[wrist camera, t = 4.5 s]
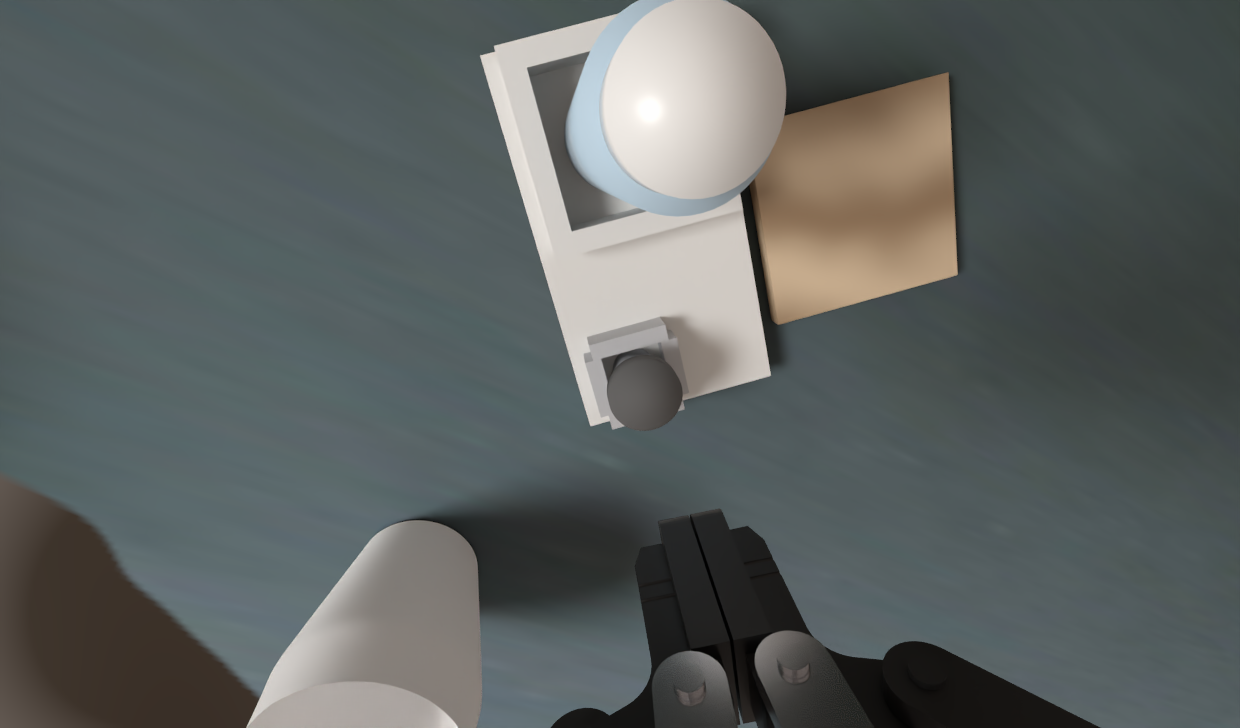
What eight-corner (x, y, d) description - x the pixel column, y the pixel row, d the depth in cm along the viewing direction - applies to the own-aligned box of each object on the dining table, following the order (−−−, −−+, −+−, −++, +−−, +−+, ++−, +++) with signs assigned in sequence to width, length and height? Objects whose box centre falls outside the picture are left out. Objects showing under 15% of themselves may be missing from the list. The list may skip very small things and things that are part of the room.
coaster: (740, 127, 28) (746, 126, 27) (935, 75, 28) (948, 72, 27) (771, 320, 31) (778, 324, 30) (945, 271, 32) (957, 274, 31)
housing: (483, 62, 26) (472, 43, 22) (697, 6, 26) (723, -22, 22) (588, 414, 32) (594, 447, 28) (761, 366, 32) (789, 392, 28)
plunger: (593, 346, 29) (600, 372, 25) (658, 329, 29) (674, 352, 26) (610, 406, 30) (618, 439, 27) (672, 388, 30) (689, 419, 27)
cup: (527, 541, 34) (515, 726, 23) (452, 649, 36) (407, 868, 25) (384, 474, 32) (293, 643, 20) (311, 592, 34) (191, 808, 22)
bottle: (550, 91, 25) (552, 2, 12) (660, 62, 25) (790, -60, 12) (580, 206, 27) (613, 246, 13) (683, 178, 27) (821, 190, 13)
